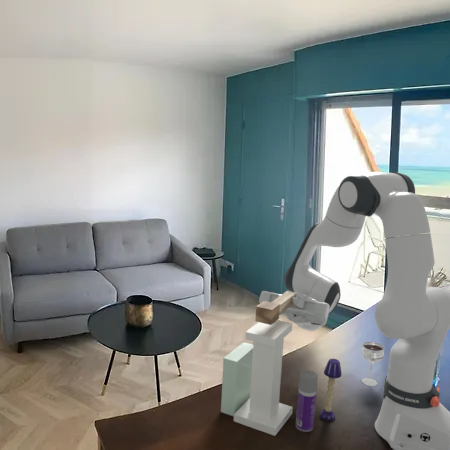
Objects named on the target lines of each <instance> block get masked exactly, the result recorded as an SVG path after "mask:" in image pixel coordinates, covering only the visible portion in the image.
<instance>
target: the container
mask: <svg viewBox="0 0 450 450" xmlns="http://www.w3.org/2000/svg"><path fill="white" fill-rule="evenodd" d="M318 375H319V374H317V373H316V372H314V371H311V370H302V371H301V372H300V375H299V381H298V393H297V402H296V403H297V405H296V415H295V416H296V417H295V428H296V429H297V430H298V431H300V432H303V433H304V432H305V433H306V432H307V433H308V432H312V431H313V429H314V426H315V415H316V414H315V413H316V402H317V393H318V392H317V389H318Z"/></svg>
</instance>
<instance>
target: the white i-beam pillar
mask: <svg viewBox="0 0 450 450" xmlns="http://www.w3.org/2000/svg"><path fill="white" fill-rule="evenodd" d="M292 330H293V322H287V321H282V320H279V319H278V320H277V321H276V322H274V323H273V324H272V325H269V324H265V323H260V322H257V323H255V324H254V325H252V326H251V327H250V328H249V329H247V330H245V336H244V337H245V340H246V341H247V340H248V341H251V342H253V343H252V345H253V357H252V373H251V389H250V399H249V400H248V401H247V402H246V403H245V404H244V405H243V406H242V407H241V408H240V409H239V410H238V411H237V412H236V413H235V414H234V416H233V422H235V423H237V424H241V425H242V426H246V427H250V428H251V429H254V430H257V431H260V432H263V433H266V434H269V435H271V436H276V435H277V434H278V432H280V431H281V429H282V428H283V426H284V425H285V424H286V423H287V421H288V420H289V419H290V417H291V416H292V414H293V407H294V406H290V405H288V404H284V403H281V402H280V392H281V380H282V365H283V355H284V354H283V353H284V342H285V341H284V339H285V337H286V336H288V335H289V334H290V333H291V332H292Z"/></svg>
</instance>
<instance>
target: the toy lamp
mask: <svg viewBox="0 0 450 450" xmlns="http://www.w3.org/2000/svg"><path fill="white" fill-rule="evenodd" d="M323 374H324V376H325V377H328V381H327V390H326V397H325V406H324V409H322V410H320V412H319V414H318V415H319V418H320V419H321V420H323V421H326V422H332V421H334V420H336V415H335V412H334V411H333V410H332V409H333V408H332V405H333V400H334V398H333V397H334V390H335V382H336V381H335V380H336V379H340V378H341V377H342V367H341V362H340V360H338V359H336V358H330V359H328V361H327V363H326V365H325V368H324V370H323Z"/></svg>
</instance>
